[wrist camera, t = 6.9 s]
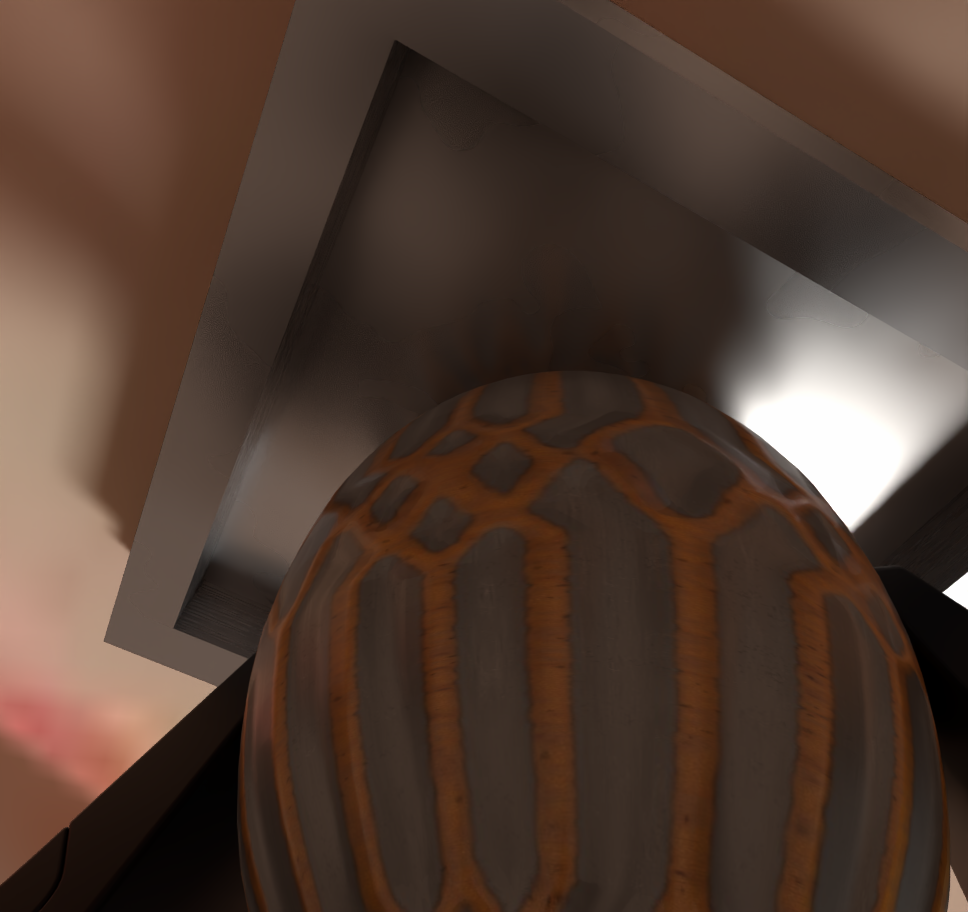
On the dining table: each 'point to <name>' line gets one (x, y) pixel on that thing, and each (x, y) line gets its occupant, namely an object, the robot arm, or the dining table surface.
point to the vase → (586, 678)
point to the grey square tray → (540, 290)
